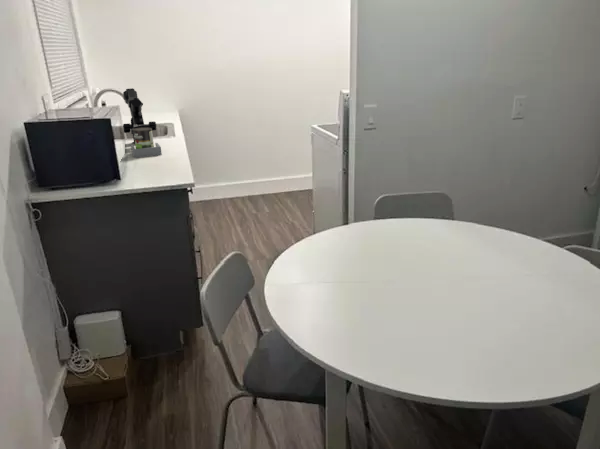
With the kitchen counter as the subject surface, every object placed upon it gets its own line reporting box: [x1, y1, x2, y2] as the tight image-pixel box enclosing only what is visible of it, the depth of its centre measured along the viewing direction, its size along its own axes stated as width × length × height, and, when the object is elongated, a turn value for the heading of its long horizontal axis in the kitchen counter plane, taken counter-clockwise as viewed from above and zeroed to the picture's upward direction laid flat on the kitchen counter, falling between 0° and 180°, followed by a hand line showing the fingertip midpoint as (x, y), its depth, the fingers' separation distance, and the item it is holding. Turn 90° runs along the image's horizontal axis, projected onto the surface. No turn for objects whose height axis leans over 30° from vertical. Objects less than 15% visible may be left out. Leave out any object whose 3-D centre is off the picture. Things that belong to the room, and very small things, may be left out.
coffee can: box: [133, 127, 155, 149], centre depth 266 cm, size 10×10×14 cm
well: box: [130, 142, 163, 158], centre depth 267 cm, size 13×15×4 cm
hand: (142, 138), depth 276 cm, fingers closed
